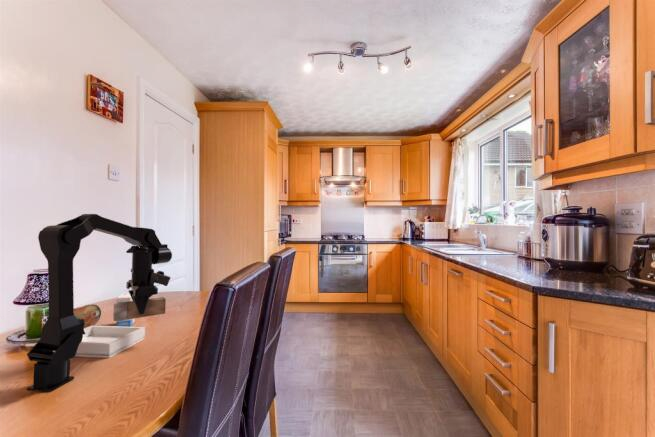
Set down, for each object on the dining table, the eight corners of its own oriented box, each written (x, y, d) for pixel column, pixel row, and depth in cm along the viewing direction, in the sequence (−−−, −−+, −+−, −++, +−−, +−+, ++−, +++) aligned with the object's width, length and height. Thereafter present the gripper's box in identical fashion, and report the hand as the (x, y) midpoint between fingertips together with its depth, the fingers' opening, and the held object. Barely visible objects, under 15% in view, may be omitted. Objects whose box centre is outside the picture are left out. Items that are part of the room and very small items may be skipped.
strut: (114, 321, 95) (114, 305, 95) (112, 318, 98) (113, 303, 98) (165, 313, 105) (165, 299, 105) (162, 311, 108) (162, 297, 108)
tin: (63, 335, 111) (63, 312, 111) (56, 334, 111) (56, 311, 112) (101, 323, 125) (102, 302, 126) (95, 322, 126) (95, 301, 126)
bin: (109, 357, 92) (109, 344, 92) (47, 355, 93) (48, 342, 94) (144, 338, 108) (145, 327, 108) (91, 336, 109) (92, 325, 110)
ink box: (130, 327, 120) (131, 297, 121) (115, 328, 118) (116, 298, 119) (135, 321, 128) (135, 292, 129) (121, 322, 126) (122, 293, 127)
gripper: (175, 266, 100) (174, 314, 100) (162, 262, 114) (160, 303, 114) (136, 269, 93) (134, 321, 93) (126, 264, 107) (125, 308, 107)
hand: (140, 312), depth 102 cm, fingers closed on strut, 4 cm apart
